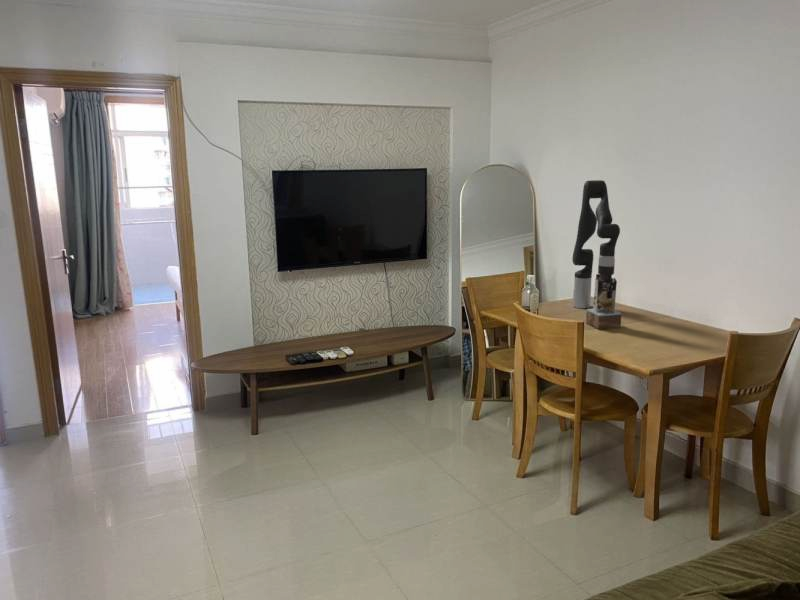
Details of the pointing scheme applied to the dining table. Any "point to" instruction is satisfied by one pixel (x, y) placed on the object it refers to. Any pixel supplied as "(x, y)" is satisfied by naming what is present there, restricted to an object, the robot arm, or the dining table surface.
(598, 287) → the coffee box
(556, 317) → the dining table surface
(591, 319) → the box
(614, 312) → the lid
